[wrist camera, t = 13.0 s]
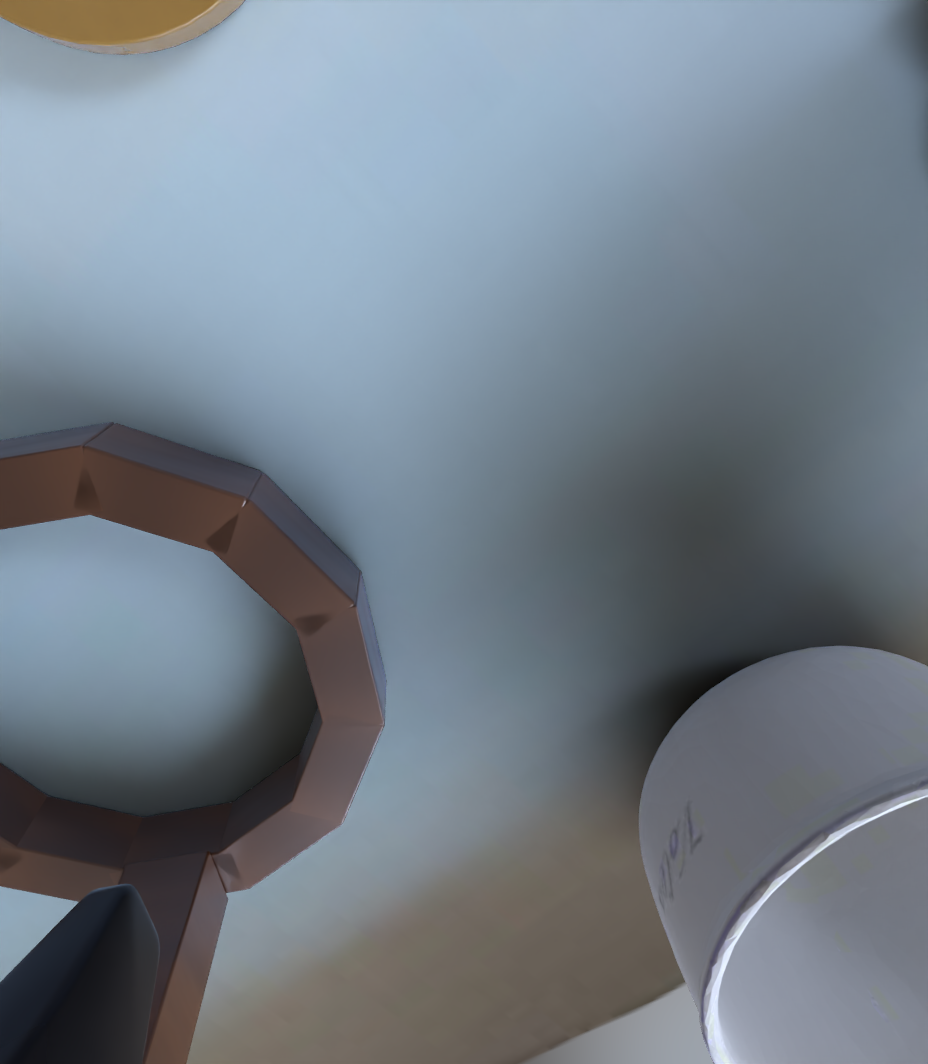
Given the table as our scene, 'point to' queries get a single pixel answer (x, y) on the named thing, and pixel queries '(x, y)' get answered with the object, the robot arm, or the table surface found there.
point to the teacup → (799, 858)
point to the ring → (269, 807)
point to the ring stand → (118, 22)
